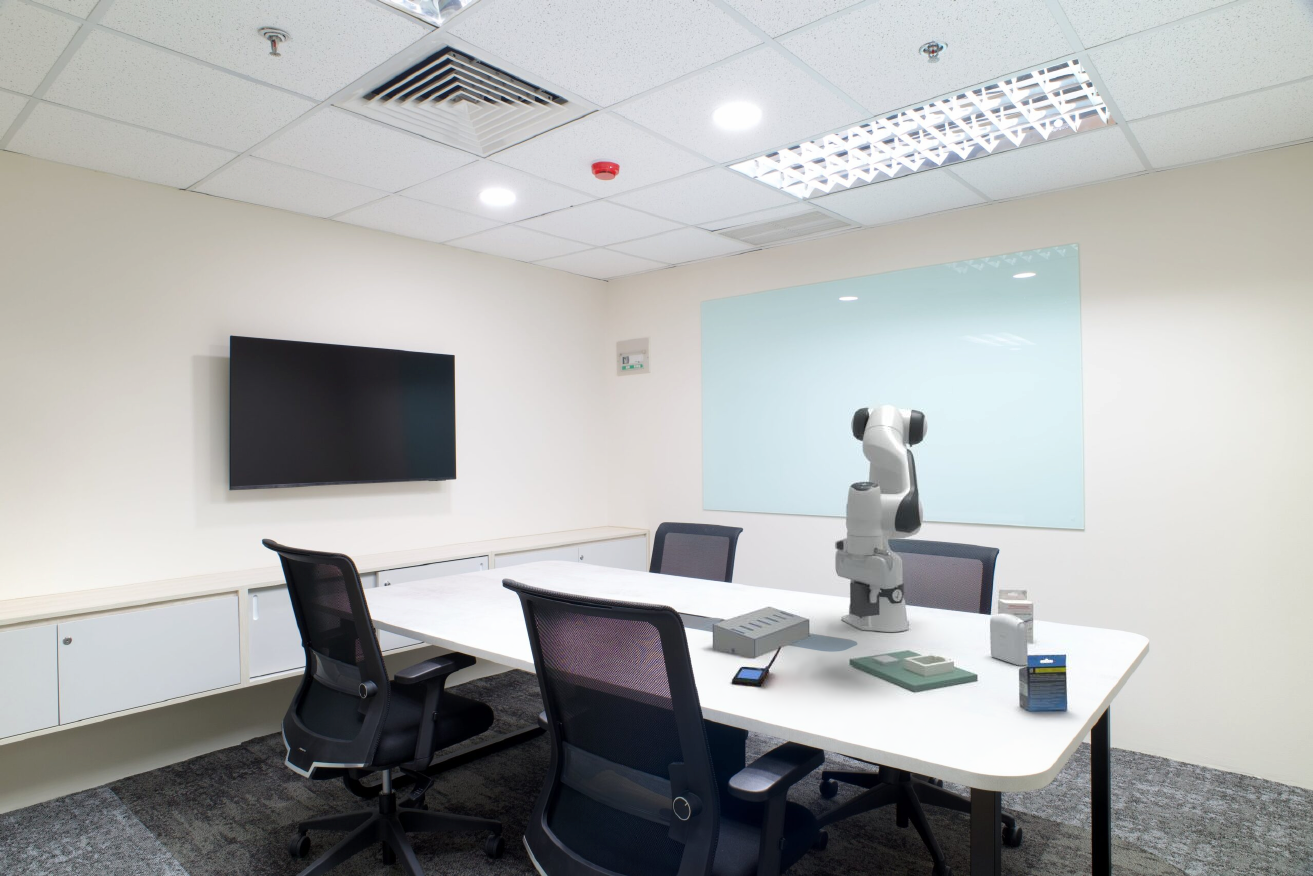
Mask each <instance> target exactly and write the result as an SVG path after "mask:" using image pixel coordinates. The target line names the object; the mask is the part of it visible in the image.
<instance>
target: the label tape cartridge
mask: <svg viewBox="0 0 1313 876" xmlns="http://www.w3.org/2000/svg"><path fill="white" fill-rule="evenodd" d="M1046 660H1048V661H1052V662H1041V661H1046ZM1067 684H1068V683H1067V653H1066V654H1028V655H1027V664H1026V666H1024V667H1022V668H1019V669H1018V695H1019V696H1018V697H1019V698H1018V699H1019V700H1018V701H1019V704H1018V705H1019V707H1021V708H1022V709H1024V710H1026V711H1027V712H1043V711H1044V712H1045V711H1046V712H1047V711H1067V710H1068V688H1067Z"/></svg>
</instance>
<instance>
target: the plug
mask: <svg viewBox="0 0 1313 876" xmlns="http://www.w3.org/2000/svg"><path fill="white" fill-rule="evenodd" d="M849 590H850V591H849V596H850V597H849V605H850V614H853V615H855V616H858V617H866V616H874V615H880V613H879V592H878V594H877V601H876V603H870V602H868V601H867V599H868V598H867V595H870V592H871V589H870V585H868V584H864V583H861V582H851V581H850V582H849Z"/></svg>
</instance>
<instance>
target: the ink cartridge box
mask: <svg viewBox="0 0 1313 876" xmlns="http://www.w3.org/2000/svg"><path fill="white" fill-rule="evenodd" d="M1012 593H1014V594H1017V595H1013V594H1012ZM1010 594H1011V595H1010ZM1027 597H1028V591H1027V589H1004V588H1003V589H999V590H998V601H997V614H1009V615H1013V616H1015V617H1017V618H1019V619H1021V620H1022V621H1024V622H1025V623H1026V626H1027V644H1029V643H1030V644H1031V643H1034V603H1033V602H1031V601H1029V600H1028V599H1027Z"/></svg>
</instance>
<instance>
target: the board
mask: <svg viewBox="0 0 1313 876" xmlns="http://www.w3.org/2000/svg"><path fill="white" fill-rule="evenodd" d="M849 665H850V666H852V667H854V668H857V669H859V670H861V671H863V672H865V673H869V674H871V675H872V676H874V677H878V678H880V679H883V680H884V681H887V682H889V683H891V684H894V685H897V686H899V687H901V688H903V689H904V688H905V689H906V690H909V691H911V692H913V693H917V692H923V691H929V690H934V689H939V688H943V687H946V688H947V687H951V686H956V685H961V684H967V683H973V682H977V681H978V674H977V673H974V672H971V671H969V670H965V669H963V668H961V667H960V668H959V667H957V666H955V661H954V660H952V659H951V658H949V657H946V656H943V655H941V654H940V655H939V654H938V655H936V654H934V653H930V654H919V653H917V652H914V651H912V650H909V649H908V650H907V649H906V650H902V651H895V652H889V653H888V652H887V653H882V654H875V655H874V654H873V655H868V656H861V657H855V658H854V657H853V658H850V659H849Z"/></svg>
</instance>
